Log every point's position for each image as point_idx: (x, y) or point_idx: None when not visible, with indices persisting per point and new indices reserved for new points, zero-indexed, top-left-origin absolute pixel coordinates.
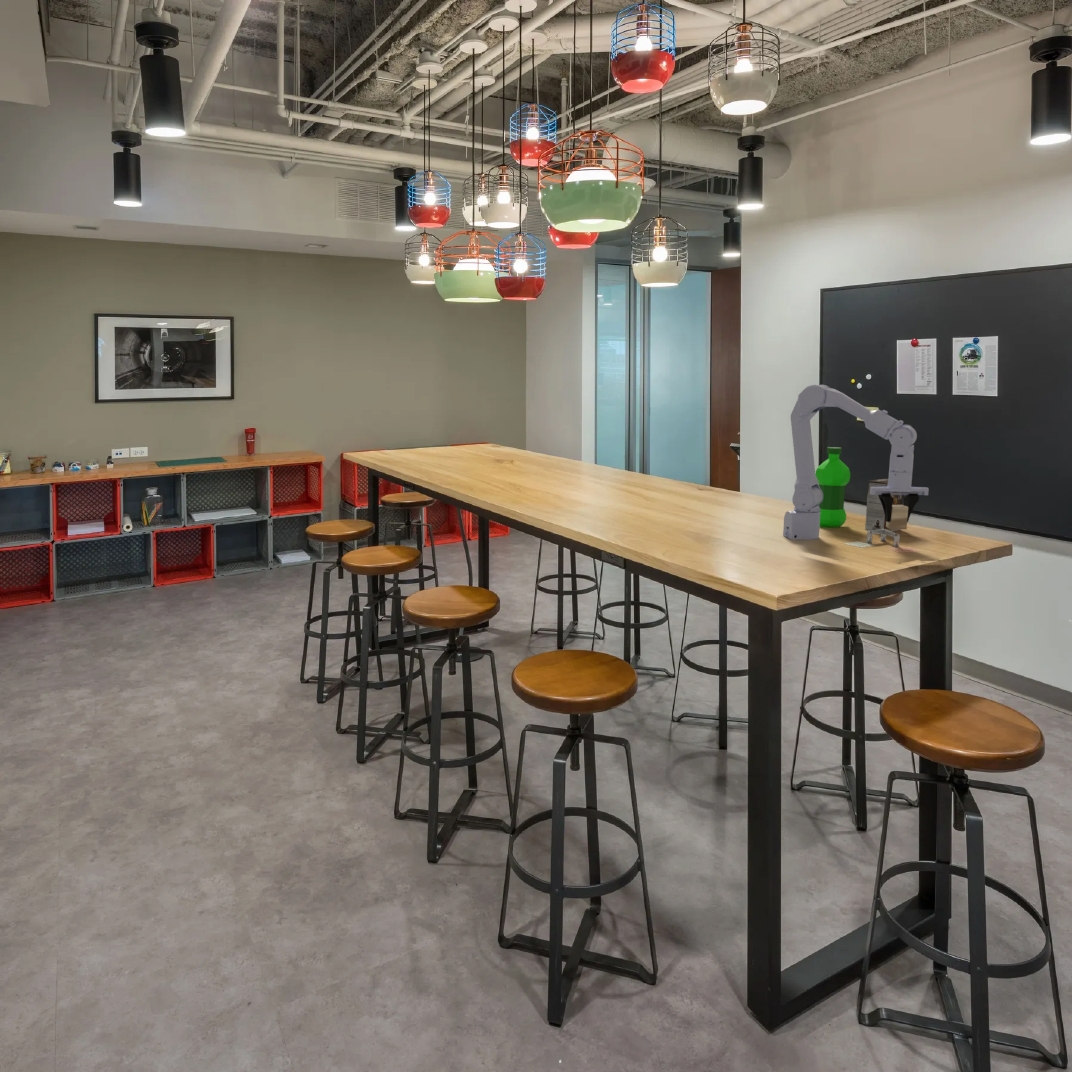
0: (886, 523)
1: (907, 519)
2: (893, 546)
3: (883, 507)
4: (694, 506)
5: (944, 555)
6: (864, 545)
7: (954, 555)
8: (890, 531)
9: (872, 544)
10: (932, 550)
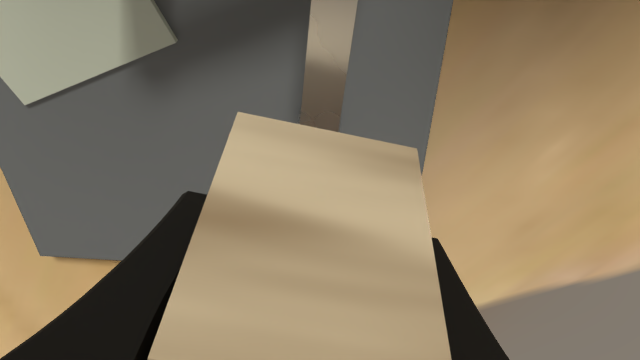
0: (229, 139)
1: None
2: (298, 118)
3: (69, 330)
4: None
5: (550, 253)
6: (69, 41)
7: (610, 261)
8: (344, 22)
9: (154, 10)
10: (619, 124)
